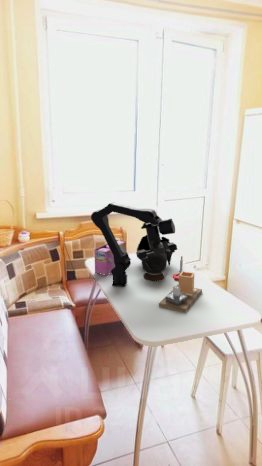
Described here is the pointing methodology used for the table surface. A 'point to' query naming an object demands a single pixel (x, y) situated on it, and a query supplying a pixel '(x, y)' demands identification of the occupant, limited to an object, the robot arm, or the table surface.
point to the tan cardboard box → (186, 282)
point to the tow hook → (179, 271)
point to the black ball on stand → (155, 267)
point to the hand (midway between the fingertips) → (160, 267)
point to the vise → (176, 297)
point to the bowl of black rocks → (145, 244)
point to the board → (184, 306)
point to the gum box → (106, 258)
